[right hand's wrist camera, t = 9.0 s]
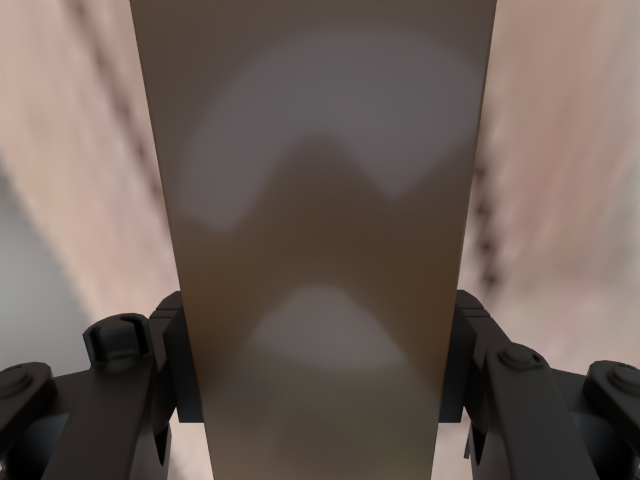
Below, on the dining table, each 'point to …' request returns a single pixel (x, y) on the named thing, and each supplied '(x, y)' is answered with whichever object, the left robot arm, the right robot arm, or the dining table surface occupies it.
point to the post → (317, 219)
